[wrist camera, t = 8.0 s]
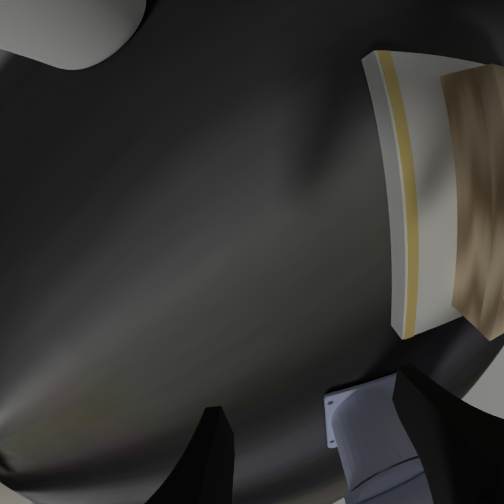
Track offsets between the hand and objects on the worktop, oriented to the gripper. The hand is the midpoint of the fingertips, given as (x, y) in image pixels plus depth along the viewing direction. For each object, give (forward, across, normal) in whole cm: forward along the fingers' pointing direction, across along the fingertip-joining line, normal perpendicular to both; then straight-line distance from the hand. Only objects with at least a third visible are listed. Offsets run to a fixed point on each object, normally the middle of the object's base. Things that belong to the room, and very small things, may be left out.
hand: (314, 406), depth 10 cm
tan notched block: (+7, -15, -5) cm, 17 cm away
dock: (+9, -15, -5) cm, 18 cm away
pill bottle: (+10, +9, -22) cm, 25 cm away
